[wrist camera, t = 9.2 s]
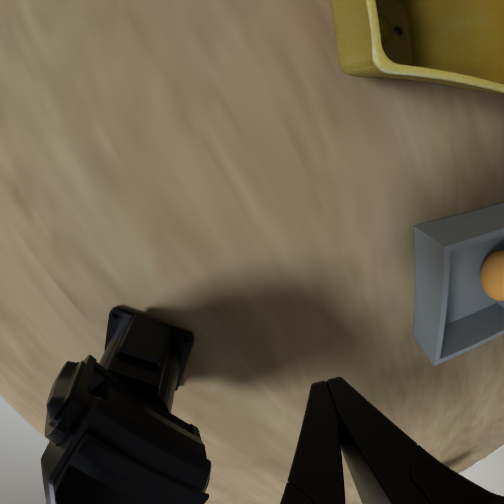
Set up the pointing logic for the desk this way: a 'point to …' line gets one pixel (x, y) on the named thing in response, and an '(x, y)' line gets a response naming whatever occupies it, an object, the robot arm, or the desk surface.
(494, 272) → the ball
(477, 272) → the shallow blue-grey tray
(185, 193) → the desk surface
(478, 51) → the flower pot
